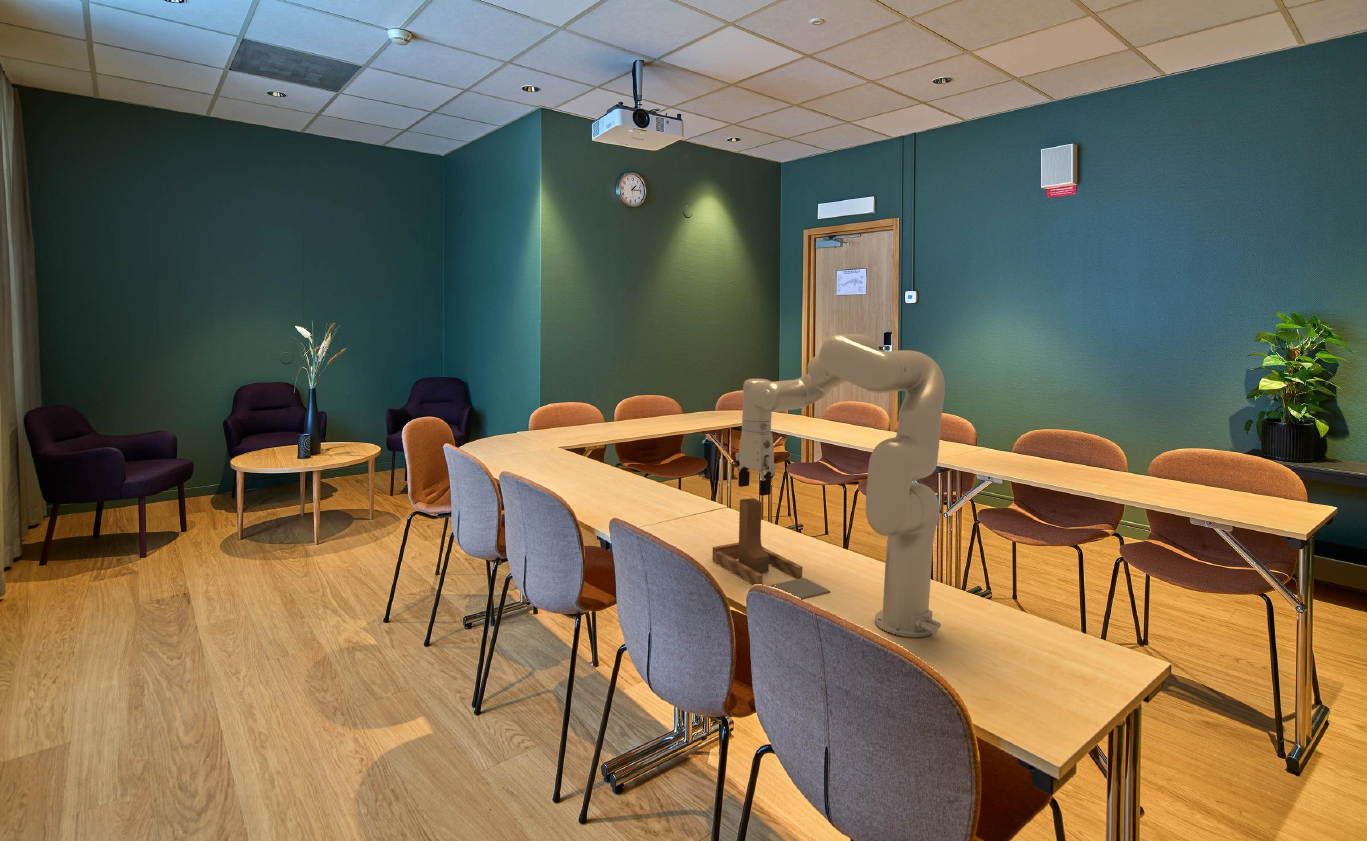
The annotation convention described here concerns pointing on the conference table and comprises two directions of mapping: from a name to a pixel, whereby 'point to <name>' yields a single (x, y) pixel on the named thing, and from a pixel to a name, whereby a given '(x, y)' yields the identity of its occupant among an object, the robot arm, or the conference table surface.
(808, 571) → the conference table surface
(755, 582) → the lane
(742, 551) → the wooden block
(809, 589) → the mat
